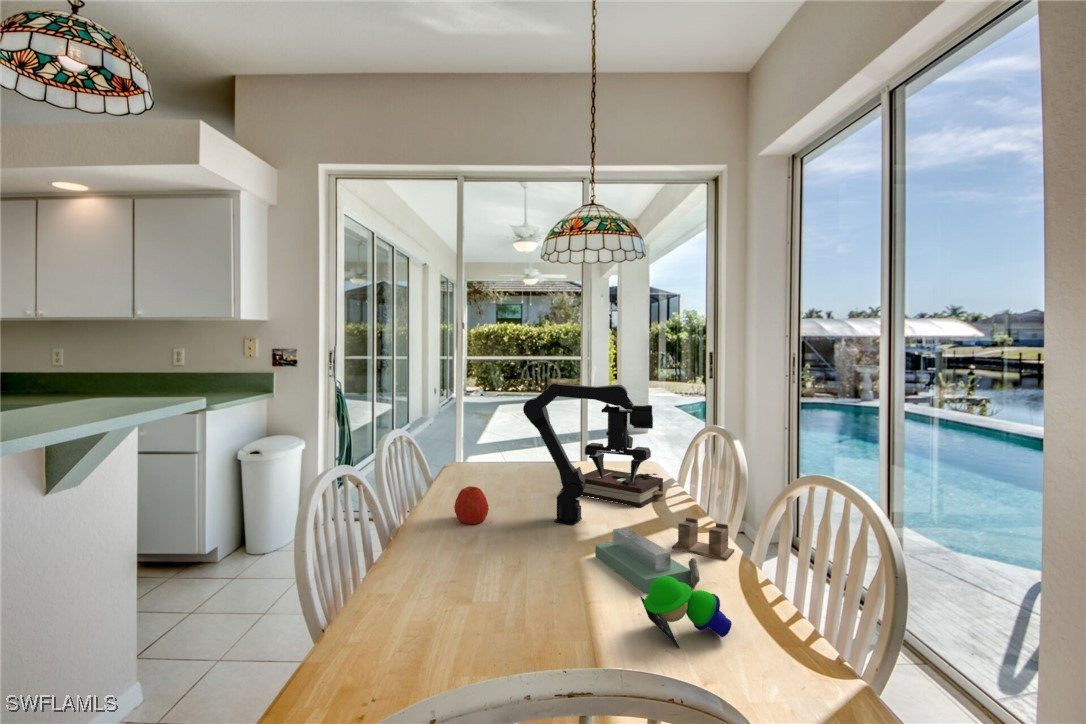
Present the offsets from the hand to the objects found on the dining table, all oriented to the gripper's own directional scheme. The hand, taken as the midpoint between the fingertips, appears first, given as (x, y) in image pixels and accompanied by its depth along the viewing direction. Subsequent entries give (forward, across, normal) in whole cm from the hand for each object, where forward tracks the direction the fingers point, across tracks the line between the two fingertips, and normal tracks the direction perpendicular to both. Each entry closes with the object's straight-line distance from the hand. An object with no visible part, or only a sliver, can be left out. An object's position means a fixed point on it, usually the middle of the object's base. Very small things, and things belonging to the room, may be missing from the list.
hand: (617, 480), depth 162 cm
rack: (+13, -27, +10) cm, 31 cm away
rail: (+10, -15, +29) cm, 34 cm away
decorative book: (+14, +9, -29) cm, 33 cm away
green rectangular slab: (+13, -16, +29) cm, 35 cm away
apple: (+13, +40, +17) cm, 45 cm away
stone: (+13, -28, +28) cm, 42 cm away
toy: (+13, -31, +53) cm, 63 cm away
